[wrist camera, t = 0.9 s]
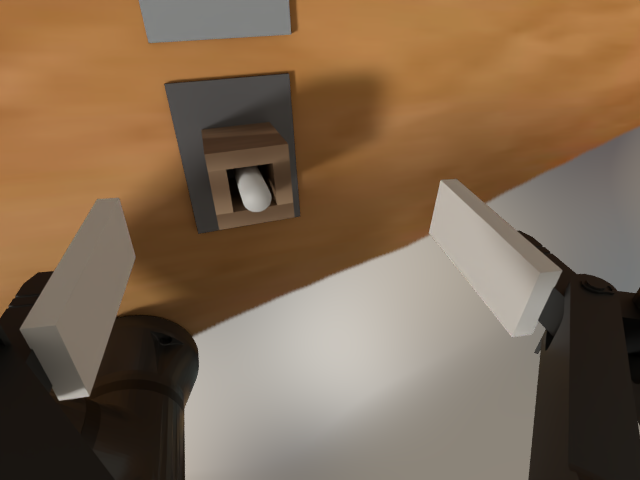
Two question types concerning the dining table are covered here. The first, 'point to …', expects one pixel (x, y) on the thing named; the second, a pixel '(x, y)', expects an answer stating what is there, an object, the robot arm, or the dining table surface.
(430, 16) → the dining table surface
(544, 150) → the dining table surface
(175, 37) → the slate mat
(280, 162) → the walnut collar
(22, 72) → the dining table surface
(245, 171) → the post stand
